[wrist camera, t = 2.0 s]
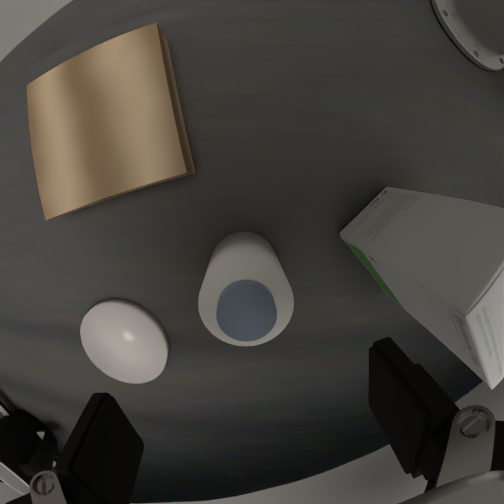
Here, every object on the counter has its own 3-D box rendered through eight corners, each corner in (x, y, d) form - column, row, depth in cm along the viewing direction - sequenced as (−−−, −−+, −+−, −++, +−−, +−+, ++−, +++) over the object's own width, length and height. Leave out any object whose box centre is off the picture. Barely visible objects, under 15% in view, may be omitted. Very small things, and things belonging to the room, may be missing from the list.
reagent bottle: (269, 224, 23) (288, 256, 14) (282, 286, 25) (304, 345, 16) (203, 240, 23) (182, 279, 14) (220, 300, 25) (211, 364, 16)
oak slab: (168, 42, 19) (156, 22, 15) (195, 173, 22) (186, 172, 18) (51, 93, 19) (26, 85, 15) (70, 213, 22) (45, 220, 18)
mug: (75, 470, 33) (56, 517, 21) (5, 426, 30) (-21, 465, 19) (75, 428, 29) (45, 489, 18) (-8, 373, 27) (-48, 417, 15)
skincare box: (335, 232, 24) (458, 315, 9) (388, 181, 23) (537, 203, 8) (386, 296, 25) (489, 397, 10) (432, 249, 24) (554, 313, 9)
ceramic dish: (149, 290, 24) (145, 295, 23) (182, 371, 27) (180, 379, 25) (72, 306, 24) (66, 311, 23) (107, 379, 27) (104, 385, 26)
